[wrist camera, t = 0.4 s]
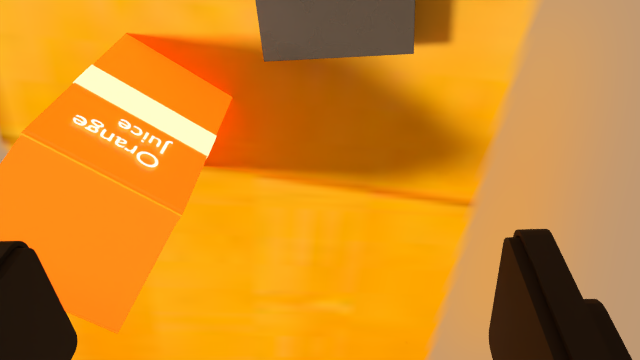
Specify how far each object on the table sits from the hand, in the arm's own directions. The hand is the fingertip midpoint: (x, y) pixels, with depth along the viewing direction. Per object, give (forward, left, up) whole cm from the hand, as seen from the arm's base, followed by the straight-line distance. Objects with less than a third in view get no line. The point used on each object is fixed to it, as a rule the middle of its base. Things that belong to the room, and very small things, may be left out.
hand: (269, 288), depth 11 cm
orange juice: (+9, -13, -29) cm, 33 cm away
